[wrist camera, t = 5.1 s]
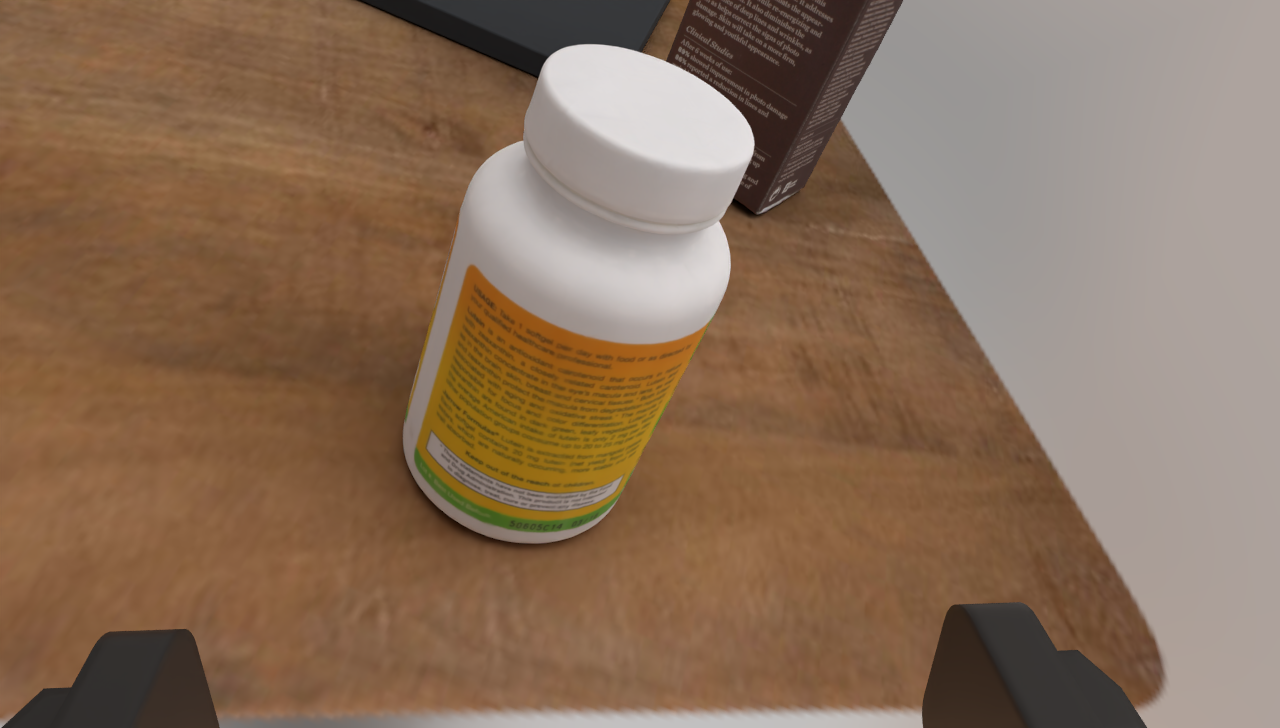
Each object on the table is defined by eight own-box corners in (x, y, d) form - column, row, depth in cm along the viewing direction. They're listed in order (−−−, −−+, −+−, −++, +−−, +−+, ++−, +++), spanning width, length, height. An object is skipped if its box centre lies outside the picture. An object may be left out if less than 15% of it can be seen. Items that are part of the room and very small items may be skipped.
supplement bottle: (649, 541, 22) (845, 208, 16) (421, 563, 20) (551, 178, 13) (584, 375, 25) (725, 47, 19) (382, 375, 23) (471, -1, 17)
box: (806, 188, 38) (973, -117, 30) (754, 220, 35) (926, -114, 27) (690, 110, 39) (821, -200, 32) (629, 133, 36) (759, -206, 29)
